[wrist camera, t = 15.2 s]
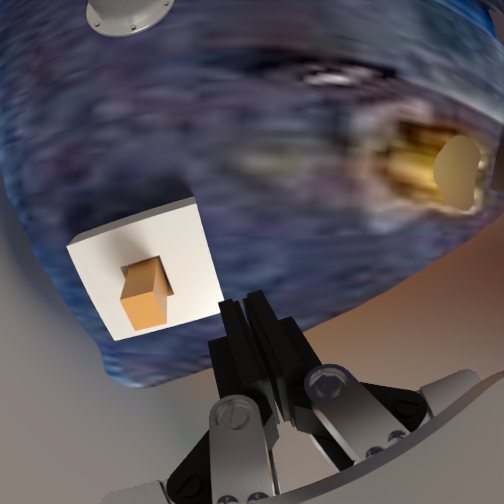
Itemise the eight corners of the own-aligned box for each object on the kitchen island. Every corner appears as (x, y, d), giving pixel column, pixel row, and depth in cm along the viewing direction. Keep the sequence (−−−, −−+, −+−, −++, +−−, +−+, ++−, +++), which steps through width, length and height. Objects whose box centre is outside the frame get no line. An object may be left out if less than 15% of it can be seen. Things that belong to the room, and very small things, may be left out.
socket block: (77, 234, 34) (66, 246, 30) (194, 196, 36) (196, 203, 32) (118, 323, 41) (114, 340, 37) (222, 294, 43) (227, 310, 39)
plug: (131, 261, 36) (119, 300, 27) (158, 253, 36) (153, 291, 27) (142, 287, 38) (135, 331, 29) (167, 280, 38) (166, 323, 29)
